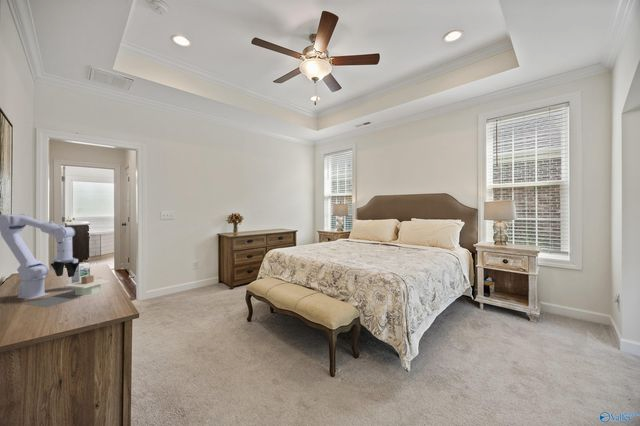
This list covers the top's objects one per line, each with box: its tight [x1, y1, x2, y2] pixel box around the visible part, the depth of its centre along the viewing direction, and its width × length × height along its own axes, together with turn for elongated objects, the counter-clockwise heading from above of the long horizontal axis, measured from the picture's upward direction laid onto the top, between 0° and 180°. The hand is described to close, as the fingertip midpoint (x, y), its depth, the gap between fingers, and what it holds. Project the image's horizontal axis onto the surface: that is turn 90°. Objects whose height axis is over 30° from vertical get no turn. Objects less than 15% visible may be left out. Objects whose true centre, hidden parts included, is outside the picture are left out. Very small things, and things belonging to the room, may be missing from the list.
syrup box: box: [71, 261, 91, 290], centre depth 148 cm, size 6×6×14 cm
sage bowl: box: [74, 284, 102, 296], centre depth 141 cm, size 10×10×5 cm
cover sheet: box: [63, 274, 110, 288], centre depth 141 cm, size 13×13×4 cm
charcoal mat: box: [23, 294, 81, 308], centre depth 128 cm, size 16×14×1 cm
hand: (65, 276), depth 135 cm, fingers open, 7 cm apart
